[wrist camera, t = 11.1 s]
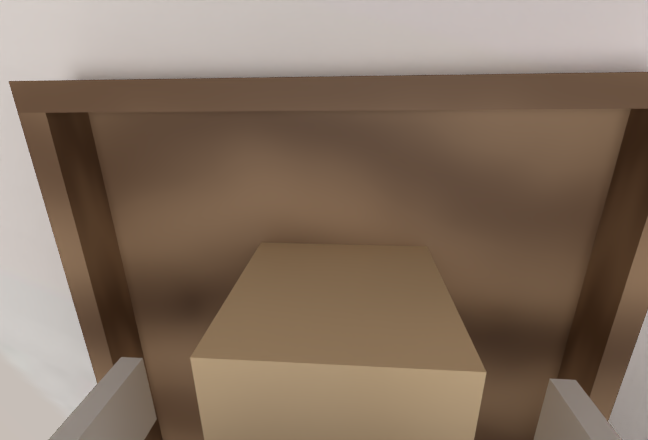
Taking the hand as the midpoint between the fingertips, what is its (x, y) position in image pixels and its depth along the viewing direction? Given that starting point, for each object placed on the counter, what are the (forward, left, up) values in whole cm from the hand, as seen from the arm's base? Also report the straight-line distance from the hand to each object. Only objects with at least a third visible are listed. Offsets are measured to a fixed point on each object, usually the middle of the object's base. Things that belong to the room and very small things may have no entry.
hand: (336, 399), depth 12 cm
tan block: (0, 0, -5) cm, 5 cm away
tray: (0, 0, -6) cm, 6 cm away
